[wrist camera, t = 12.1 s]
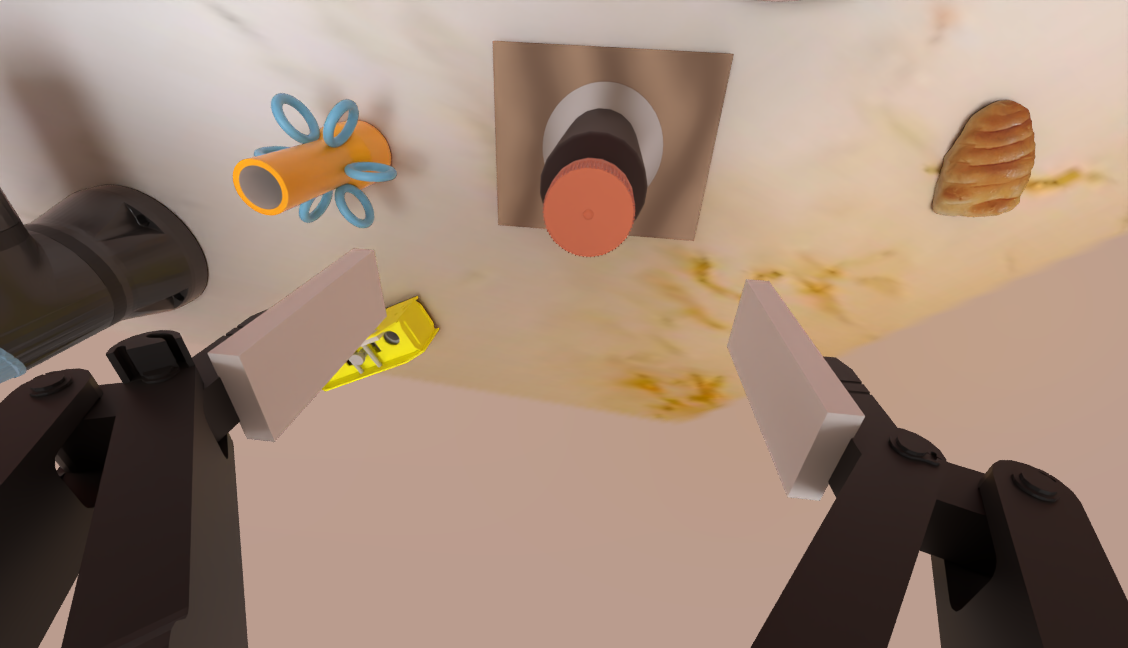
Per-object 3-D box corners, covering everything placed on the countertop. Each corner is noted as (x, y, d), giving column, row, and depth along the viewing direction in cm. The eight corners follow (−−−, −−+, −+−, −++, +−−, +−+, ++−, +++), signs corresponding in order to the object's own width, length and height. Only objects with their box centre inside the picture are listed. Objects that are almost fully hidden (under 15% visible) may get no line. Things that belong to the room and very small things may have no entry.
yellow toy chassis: (417, 289, 52) (386, 325, 45) (443, 327, 55) (417, 367, 47) (318, 329, 57) (276, 368, 50) (346, 363, 59) (309, 404, 52)
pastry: (944, 109, 37) (976, 113, 34) (1037, 91, 36) (1079, 93, 33) (923, 215, 42) (950, 227, 39) (1005, 202, 41) (1039, 214, 38)
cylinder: (438, 187, 45) (368, 236, 32) (362, 225, 48) (270, 283, 36) (366, 62, 40) (249, 62, 27) (285, 114, 43) (146, 135, 30)
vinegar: (637, 184, 41) (652, 271, 24) (566, 188, 42) (532, 275, 25) (638, 104, 38) (655, 140, 21) (560, 110, 39) (516, 150, 22)
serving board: (501, 220, 46) (497, 226, 45) (496, 41, 38) (491, 40, 36) (691, 235, 45) (694, 242, 43) (729, 54, 37) (734, 53, 35)
